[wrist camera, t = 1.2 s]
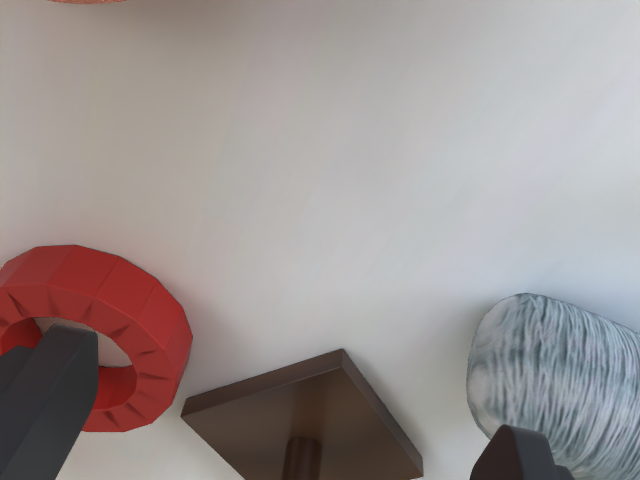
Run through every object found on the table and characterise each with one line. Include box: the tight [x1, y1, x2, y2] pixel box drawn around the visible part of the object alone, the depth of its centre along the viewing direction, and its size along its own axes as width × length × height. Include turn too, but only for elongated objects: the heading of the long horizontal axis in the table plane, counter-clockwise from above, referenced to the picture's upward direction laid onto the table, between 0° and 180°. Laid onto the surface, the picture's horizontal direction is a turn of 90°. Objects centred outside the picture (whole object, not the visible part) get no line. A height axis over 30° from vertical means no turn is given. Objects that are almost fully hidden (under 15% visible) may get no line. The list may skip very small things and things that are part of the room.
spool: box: [466, 293, 640, 480], centre depth 28 cm, size 14×10×10 cm
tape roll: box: [0, 245, 193, 432], centre depth 32 cm, size 12×12×3 cm
